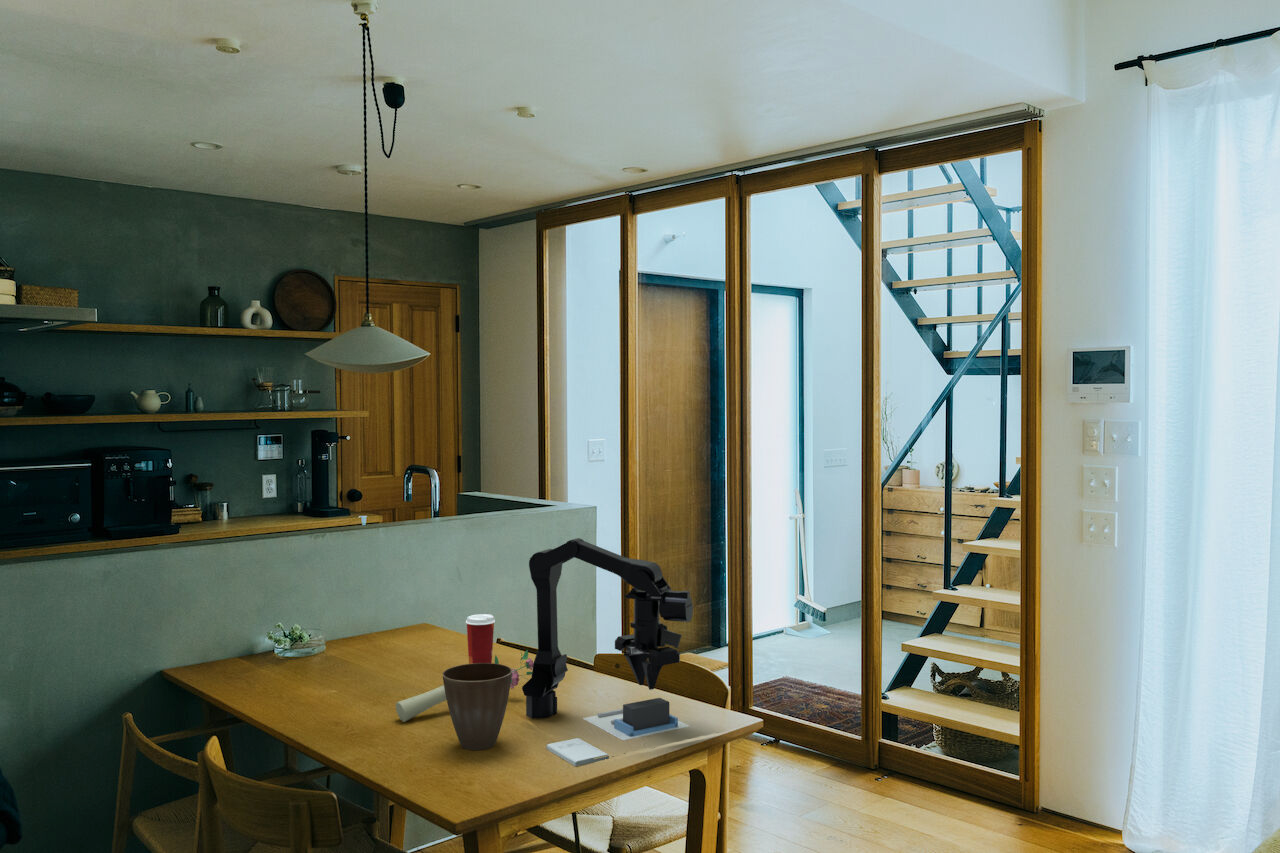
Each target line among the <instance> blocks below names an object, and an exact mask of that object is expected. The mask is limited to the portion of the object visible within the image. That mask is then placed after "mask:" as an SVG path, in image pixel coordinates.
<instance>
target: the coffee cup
mask: <svg viewBox="0 0 1280 853" xmlns="http://www.w3.org/2000/svg"><path fill="white" fill-rule="evenodd" d="M495 623H496V620H495V617H494V616H493V615H492V614H486V613H485V614H484V613H478V614H472V615H469V616H467V618H466V620H465V624H466V632H467V633H466V634H467V635H466V637H467V653H468V655H467V656H468V664H472V663H493V662H492V660H493V649H494V648H493V647H494V631H495V630H494V629H495Z"/></svg>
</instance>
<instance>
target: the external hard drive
mask: <svg viewBox="0 0 1280 853" xmlns="http://www.w3.org/2000/svg"><path fill="white" fill-rule="evenodd" d="M546 750H547V751H549V752H551V753H552V754H554V755H555V756H557V757H559V758H560V759H562V760H564V761H565V760H566V762H567V763H569V764H570V763H571V764H570V765H571V766H574V767H579V766H578V765H580V766H583V764H584V765H587V764H588V763H589V764H592V763H597V762H601V761H605V759H606V760H609V759H610V755H609V754H608V753H607V752H604V751H603V750H602V749H599V748H597V747H595V746H594V745H592V744H590V743H588V742H586V741H584V740H583V739H581V738H579V737H578V738H577V737H576V738H572V739H566V740H562V741H557V742H552V743H548V744H547V745H546Z"/></svg>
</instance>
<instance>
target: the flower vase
mask: <svg viewBox="0 0 1280 853" xmlns="http://www.w3.org/2000/svg"><path fill="white" fill-rule="evenodd" d="M520 655H521V656H520V661H519V663H520V665H522V663H523V661H524V660H525V662H524V666H520V667H519V668H517V669H515V668H511V669H512V676H511V684H510V690H512V689H515V687H516V686H518V685H519V681H520V677H522V678H524V679H526V680H527V681H529V679H528V678H526V677H525V676H526V675H527V676H532V670H533V663H534V661H533V660H532V658H530V657H529V651H528V649H526V650H525V652H524V653H522V651H520ZM494 664H500V663H499V658H498V657H497V655H496V654H495V655H494ZM524 668H526V670H528V669H529V670H530V671H526V674H525V675H524V674H523V675H521V674H519V672H518V671H519V670H521V669H524ZM445 701H447V699H446V694H445V688H444V684H443V685H441V686H439V687H437V688H433V689H431V690H429V691H427V692H424V693H421V694H418V695H417V694H416V695H414V696H412V697H409V698H405V699H403V700H400V701H397V702H396V703H395V710H396V713H397V716H398V717H399V720H400V721H401V720H402V721H401V722H403V721H404V722H403V723H406V722H407V721H409V720H411V719H412V718H415V717H416V716H418V715H420V714H422V713H424V712H426V711H427V710H429V709H431V708H432V707H434V706H436V705H439V704H441V703H443V702H445Z"/></svg>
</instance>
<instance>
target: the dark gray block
mask: <svg viewBox="0 0 1280 853" xmlns="http://www.w3.org/2000/svg"><path fill="white" fill-rule="evenodd" d="M622 709H623V722H624V723H626V724H628V725H630V726H632V727H633V731H636V730H641V729H646V728H651V727H656V726H660V725H665V724H669V714H670V701H668V700H665V699H663V698H661V697H656V698H651V699H647V700H641V701H639V700H638V701H636V702H634V701H633V702H629V703H624V704H622Z"/></svg>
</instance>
